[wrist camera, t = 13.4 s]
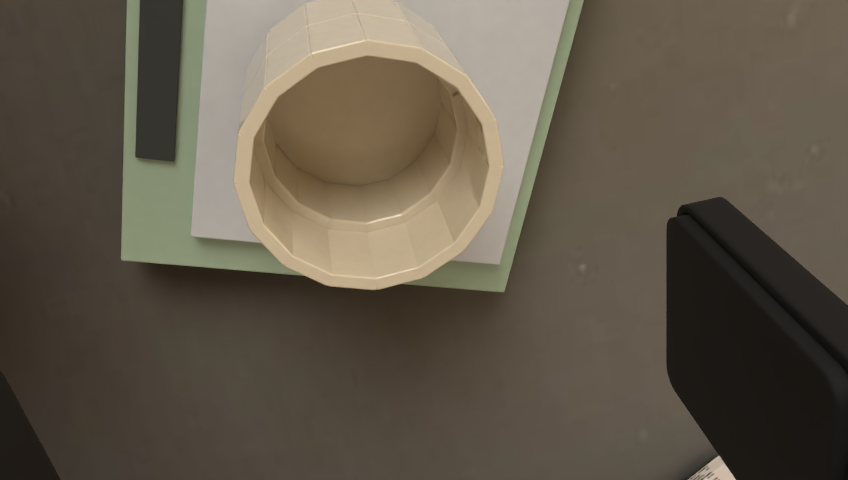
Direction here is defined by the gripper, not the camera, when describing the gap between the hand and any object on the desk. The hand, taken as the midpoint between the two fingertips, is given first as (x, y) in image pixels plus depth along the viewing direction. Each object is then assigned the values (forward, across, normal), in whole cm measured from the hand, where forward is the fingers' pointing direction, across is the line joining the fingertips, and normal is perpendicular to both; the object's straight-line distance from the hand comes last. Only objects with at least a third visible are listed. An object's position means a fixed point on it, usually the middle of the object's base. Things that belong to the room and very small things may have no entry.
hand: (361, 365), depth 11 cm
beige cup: (+16, -1, +2) cm, 16 cm away
